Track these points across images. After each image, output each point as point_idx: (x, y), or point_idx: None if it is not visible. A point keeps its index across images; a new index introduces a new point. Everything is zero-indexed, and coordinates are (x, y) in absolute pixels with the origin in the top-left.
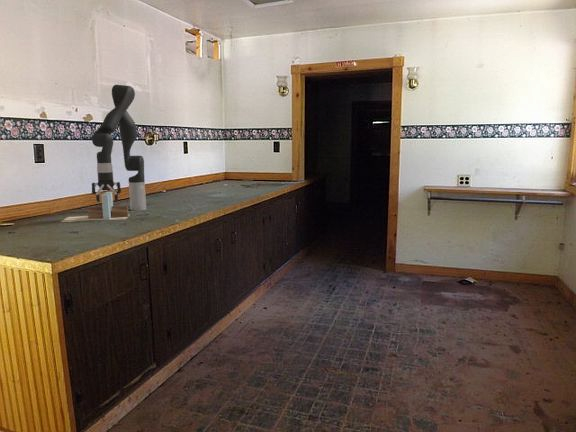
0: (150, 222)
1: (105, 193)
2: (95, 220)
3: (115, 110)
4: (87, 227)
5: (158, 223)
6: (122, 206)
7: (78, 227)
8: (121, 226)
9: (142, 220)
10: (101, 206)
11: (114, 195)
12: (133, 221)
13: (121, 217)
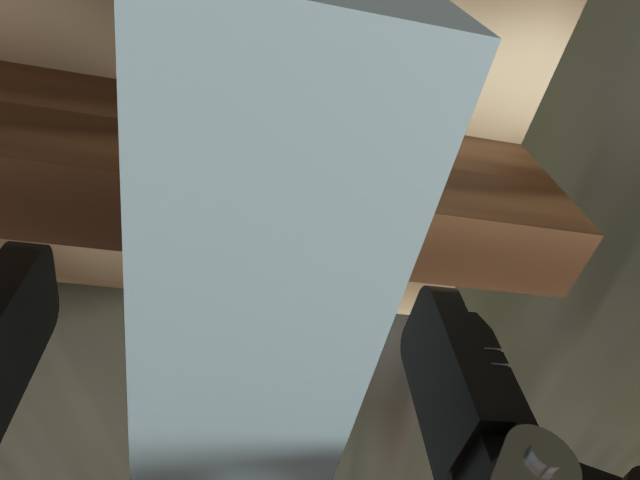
0: (596, 395)
1: (180, 467)
2: (112, 286)
3: None
4: (100, 431)
5: (623, 436)
6: (493, 286)
7: (16, 415)
8: (360, 456)
9: (585, 304)
10: (114, 189)
11: (433, 472)
12: (494, 322)
13: None
